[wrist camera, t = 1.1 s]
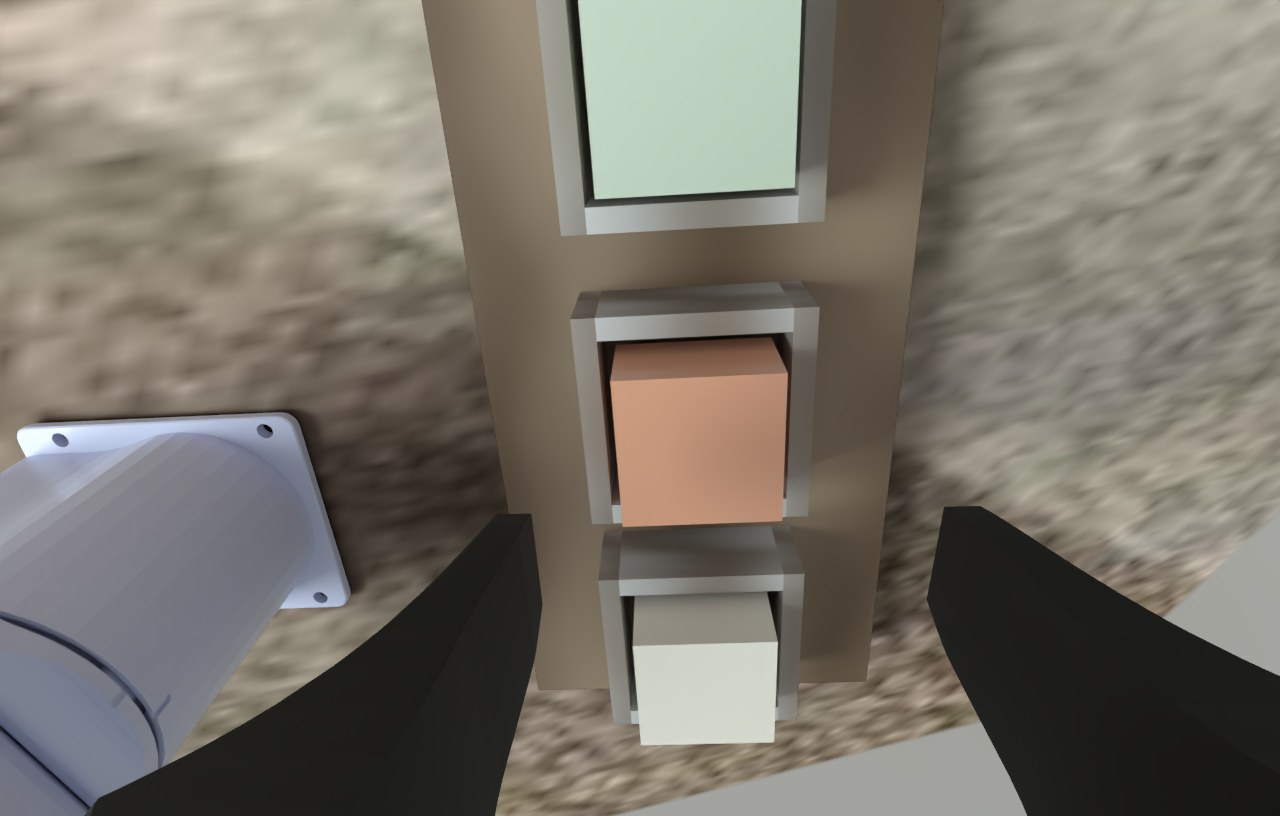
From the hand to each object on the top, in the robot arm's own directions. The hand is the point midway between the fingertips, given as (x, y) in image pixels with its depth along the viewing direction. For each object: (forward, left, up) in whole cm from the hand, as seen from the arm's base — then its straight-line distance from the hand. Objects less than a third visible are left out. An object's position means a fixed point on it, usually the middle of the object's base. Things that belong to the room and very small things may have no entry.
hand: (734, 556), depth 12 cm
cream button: (0, -8, -7) cm, 11 cm away
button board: (0, 0, -10) cm, 10 cm away
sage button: (0, +8, -7) cm, 10 cm away
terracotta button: (0, 0, -7) cm, 7 cm away
